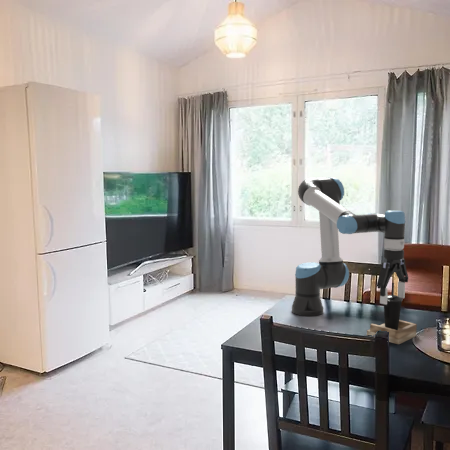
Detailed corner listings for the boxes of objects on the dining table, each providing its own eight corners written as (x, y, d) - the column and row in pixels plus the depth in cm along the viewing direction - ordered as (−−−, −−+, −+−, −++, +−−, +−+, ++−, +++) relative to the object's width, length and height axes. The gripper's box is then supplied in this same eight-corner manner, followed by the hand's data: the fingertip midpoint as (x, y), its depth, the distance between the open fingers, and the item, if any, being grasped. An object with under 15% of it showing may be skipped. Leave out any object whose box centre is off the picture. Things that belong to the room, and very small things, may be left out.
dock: (366, 335, 187) (367, 323, 186) (385, 327, 196) (385, 316, 195) (398, 344, 176) (398, 332, 175) (416, 336, 185) (416, 324, 184)
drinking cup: (403, 334, 181) (404, 285, 179) (383, 333, 183) (384, 284, 180) (399, 328, 189) (401, 281, 186) (380, 327, 190) (381, 280, 188)
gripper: (385, 253, 171) (384, 308, 173) (418, 246, 187) (416, 296, 189) (368, 251, 177) (367, 304, 179) (401, 244, 193) (399, 293, 195)
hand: (392, 300), depth 184 cm, fingers open, 13 cm apart
